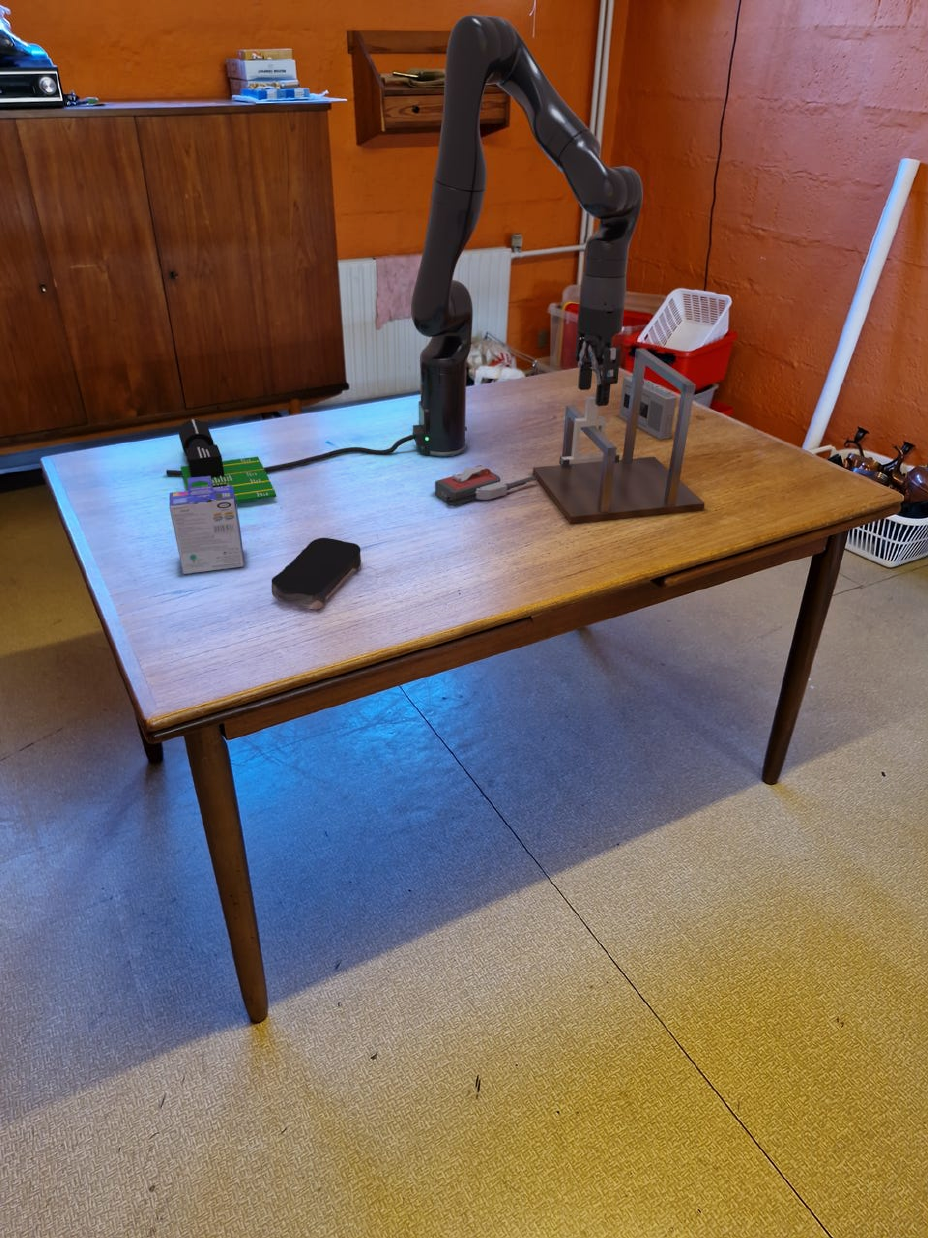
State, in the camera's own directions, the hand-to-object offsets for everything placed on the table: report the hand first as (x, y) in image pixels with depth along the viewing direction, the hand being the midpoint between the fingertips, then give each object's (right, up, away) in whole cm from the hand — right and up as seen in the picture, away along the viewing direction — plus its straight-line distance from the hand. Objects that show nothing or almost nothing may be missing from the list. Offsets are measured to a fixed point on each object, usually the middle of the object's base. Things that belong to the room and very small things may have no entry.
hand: (592, 397), depth 151 cm
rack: (+6, -15, +12) cm, 20 cm away
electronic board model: (-70, -12, +15) cm, 72 cm away
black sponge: (-46, -34, -17) cm, 59 cm away
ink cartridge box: (-63, -31, -13) cm, 72 cm away
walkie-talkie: (-19, -15, +11) cm, 27 cm away
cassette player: (+18, +4, +41) cm, 44 cm away
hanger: (0, -10, +7) cm, 13 cm away
